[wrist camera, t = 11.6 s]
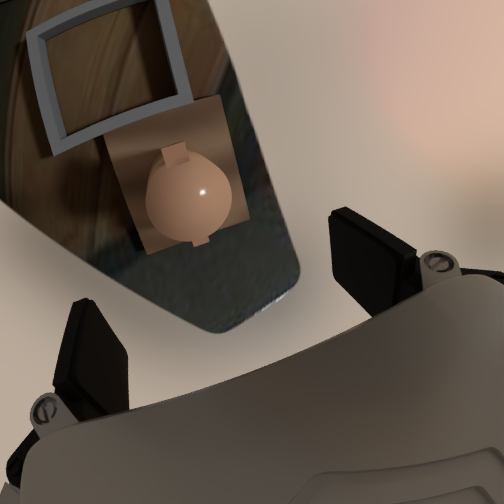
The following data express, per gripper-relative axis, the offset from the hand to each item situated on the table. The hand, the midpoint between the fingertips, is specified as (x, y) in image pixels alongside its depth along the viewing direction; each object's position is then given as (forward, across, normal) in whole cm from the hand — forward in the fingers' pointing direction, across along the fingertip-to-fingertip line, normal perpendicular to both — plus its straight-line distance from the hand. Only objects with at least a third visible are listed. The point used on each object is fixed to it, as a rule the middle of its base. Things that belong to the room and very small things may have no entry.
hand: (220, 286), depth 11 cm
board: (+22, 0, 0) cm, 22 cm away
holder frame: (+22, +4, -14) cm, 26 cm away
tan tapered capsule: (+21, 0, 0) cm, 21 cm away
